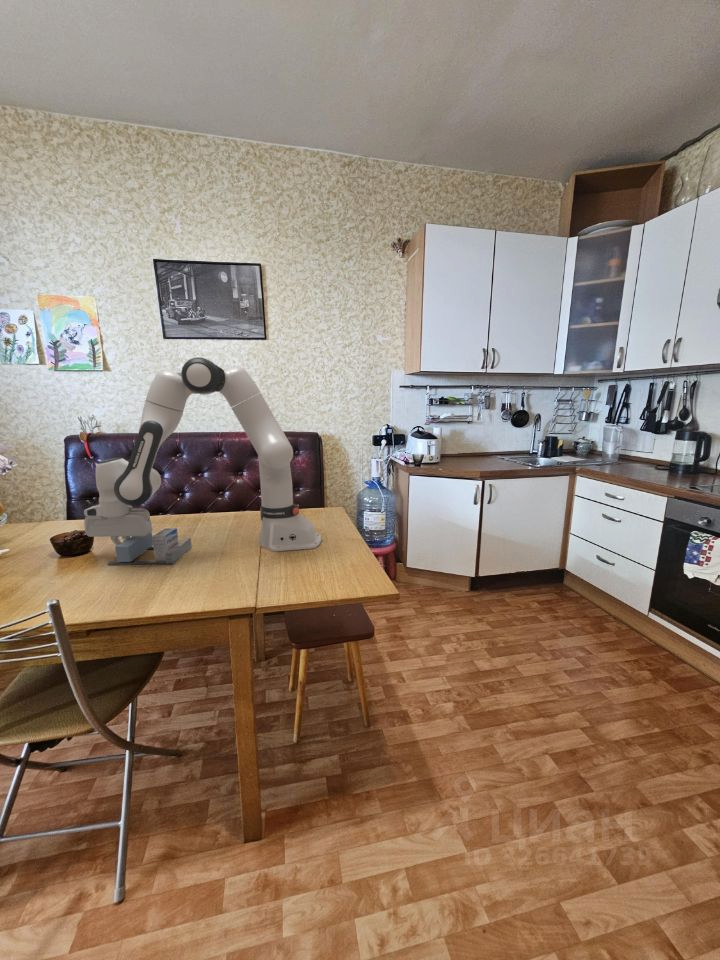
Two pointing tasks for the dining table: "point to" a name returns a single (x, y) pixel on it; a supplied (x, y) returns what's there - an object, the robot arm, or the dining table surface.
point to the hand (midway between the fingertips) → (122, 548)
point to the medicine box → (164, 542)
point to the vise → (171, 555)
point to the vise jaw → (133, 547)
